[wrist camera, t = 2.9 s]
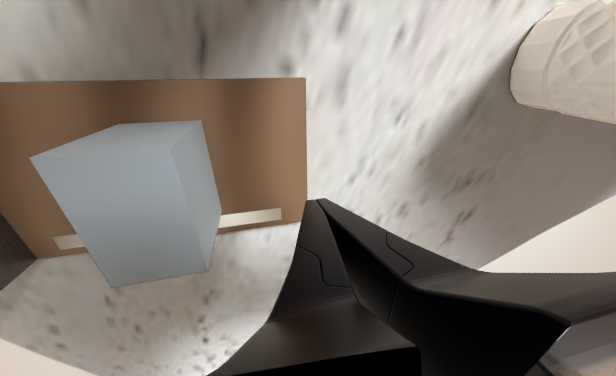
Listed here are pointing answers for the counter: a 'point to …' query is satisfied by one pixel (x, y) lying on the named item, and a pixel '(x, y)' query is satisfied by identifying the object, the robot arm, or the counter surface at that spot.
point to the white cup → (570, 62)
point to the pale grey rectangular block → (138, 198)
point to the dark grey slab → (12, 254)
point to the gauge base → (158, 108)
